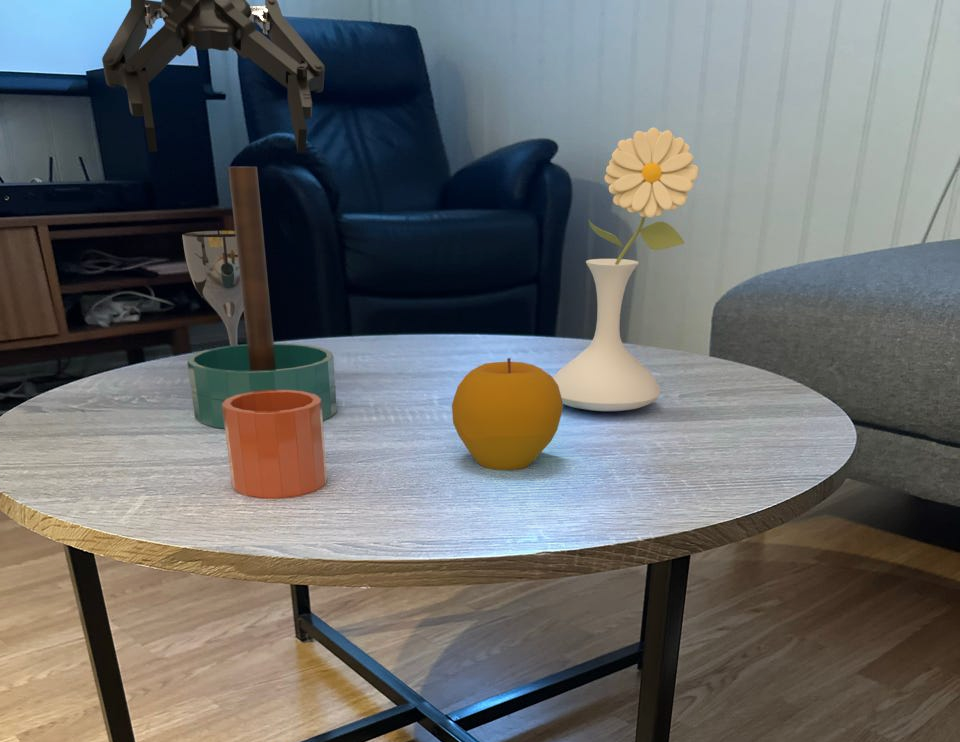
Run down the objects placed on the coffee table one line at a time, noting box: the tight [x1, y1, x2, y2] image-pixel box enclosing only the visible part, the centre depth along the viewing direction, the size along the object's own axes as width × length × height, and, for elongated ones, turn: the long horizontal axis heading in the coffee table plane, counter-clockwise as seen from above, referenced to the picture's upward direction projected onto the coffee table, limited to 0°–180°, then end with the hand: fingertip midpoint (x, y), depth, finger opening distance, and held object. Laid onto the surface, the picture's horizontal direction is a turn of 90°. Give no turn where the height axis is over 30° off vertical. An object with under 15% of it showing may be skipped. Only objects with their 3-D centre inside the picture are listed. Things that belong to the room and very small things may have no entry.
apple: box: [451, 357, 564, 471], centre depth 75 cm, size 9×9×9 cm
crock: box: [222, 390, 328, 500], centre depth 70 cm, size 7×7×7 cm
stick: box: [227, 166, 276, 371], centre depth 85 cm, size 3×2×21 cm
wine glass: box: [181, 230, 244, 346], centre depth 103 cm, size 8×8×15 cm
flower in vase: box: [552, 127, 699, 412], centre depth 89 cm, size 13×11×25 cm
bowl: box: [187, 342, 338, 430], centre depth 89 cm, size 13×13×6 cm
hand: (228, 140), depth 87 cm, fingers open, 13 cm apart
